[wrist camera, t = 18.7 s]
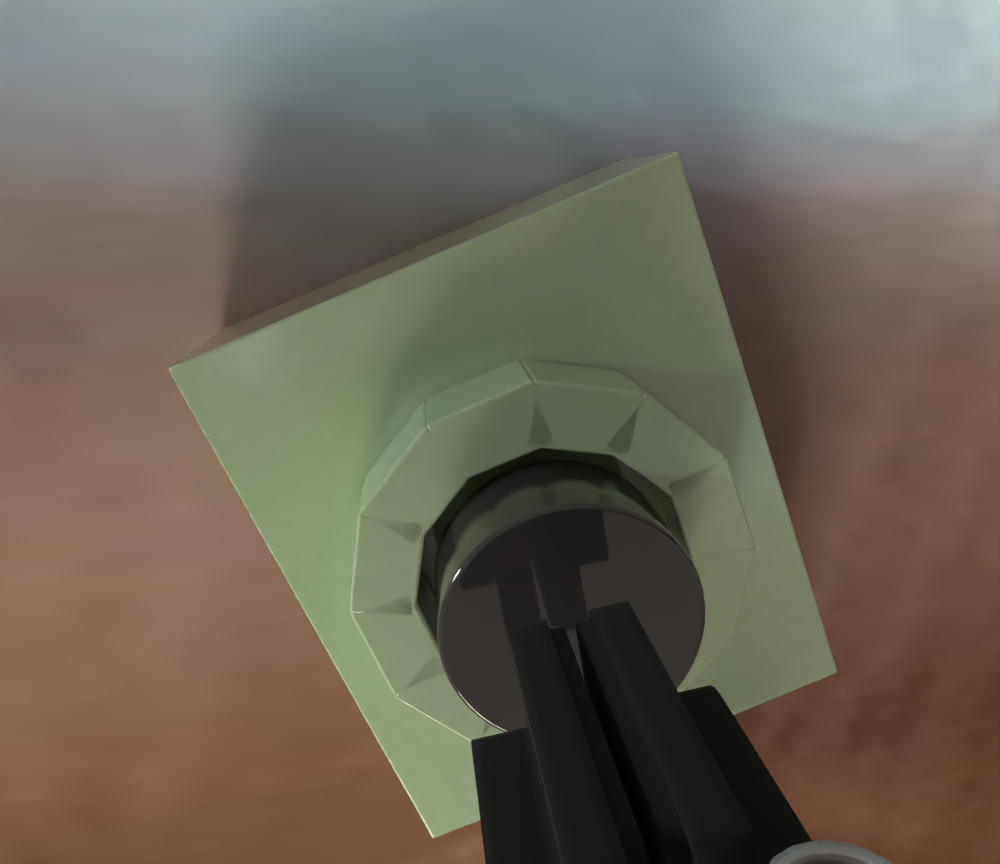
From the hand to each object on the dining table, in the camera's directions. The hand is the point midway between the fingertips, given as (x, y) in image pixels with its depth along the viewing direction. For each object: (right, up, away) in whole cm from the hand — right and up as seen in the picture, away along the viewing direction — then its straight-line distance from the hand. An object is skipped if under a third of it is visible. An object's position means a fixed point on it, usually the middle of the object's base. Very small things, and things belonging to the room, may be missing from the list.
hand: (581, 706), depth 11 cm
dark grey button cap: (0, +1, +4) cm, 4 cm away
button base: (-1, +3, +9) cm, 10 cm away
